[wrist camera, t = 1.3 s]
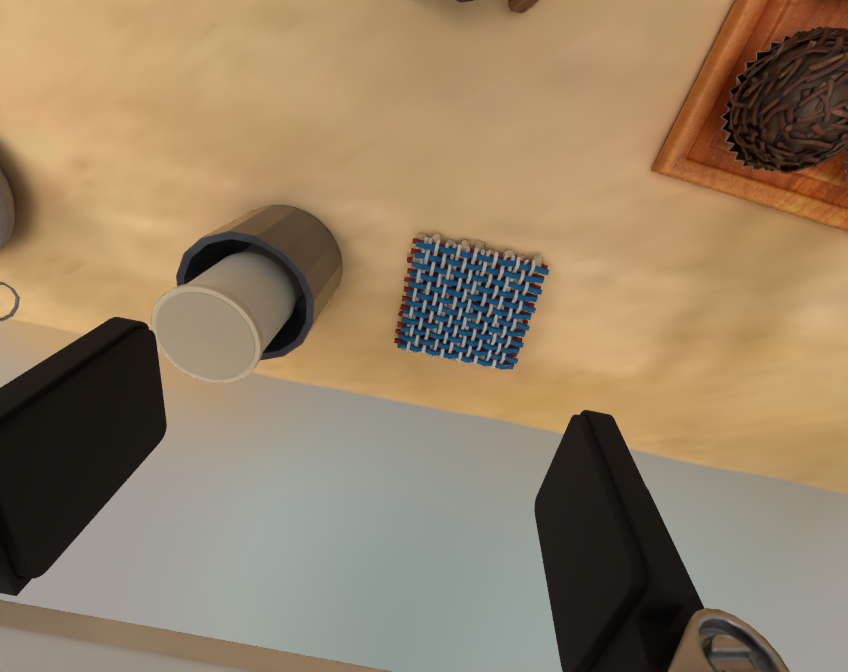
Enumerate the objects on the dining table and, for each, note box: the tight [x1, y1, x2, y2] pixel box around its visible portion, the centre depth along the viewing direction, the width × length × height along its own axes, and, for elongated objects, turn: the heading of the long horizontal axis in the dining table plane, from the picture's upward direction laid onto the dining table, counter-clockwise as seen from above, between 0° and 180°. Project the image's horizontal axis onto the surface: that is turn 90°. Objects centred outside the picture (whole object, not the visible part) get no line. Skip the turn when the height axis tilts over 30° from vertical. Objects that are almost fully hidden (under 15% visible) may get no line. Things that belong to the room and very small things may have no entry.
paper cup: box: [151, 243, 303, 383], centre depth 30 cm, size 6×6×12 cm
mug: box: [176, 205, 342, 360], centre depth 33 cm, size 12×9×8 cm
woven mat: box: [394, 233, 549, 370], centre depth 36 cm, size 10×11×2 cm
